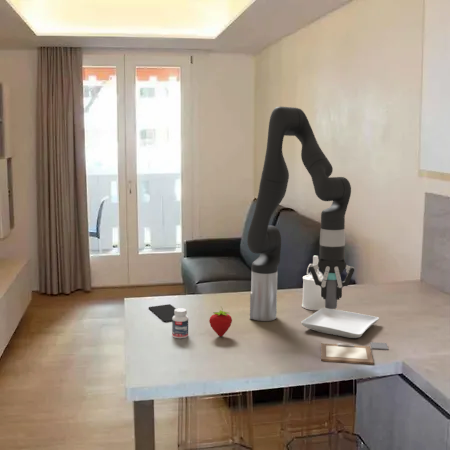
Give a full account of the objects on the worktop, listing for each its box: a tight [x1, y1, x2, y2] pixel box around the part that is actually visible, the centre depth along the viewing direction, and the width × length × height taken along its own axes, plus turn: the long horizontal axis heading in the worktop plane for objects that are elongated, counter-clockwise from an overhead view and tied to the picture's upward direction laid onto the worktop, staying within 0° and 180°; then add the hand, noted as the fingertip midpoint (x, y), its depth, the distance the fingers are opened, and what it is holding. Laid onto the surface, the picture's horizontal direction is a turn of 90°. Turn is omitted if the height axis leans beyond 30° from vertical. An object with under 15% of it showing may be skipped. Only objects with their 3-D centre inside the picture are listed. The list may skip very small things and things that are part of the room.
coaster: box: [370, 341, 389, 351], centre depth 188 cm, size 5×5×1 cm
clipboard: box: [320, 342, 374, 365], centre depth 182 cm, size 15×13×1 cm
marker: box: [325, 273, 338, 310], centre depth 183 cm, size 4×4×11 cm
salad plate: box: [300, 308, 380, 339], centre depth 205 cm, size 21×21×3 cm
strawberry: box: [208, 306, 233, 337], centre depth 195 cm, size 6×8×10 cm
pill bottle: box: [171, 307, 189, 339], centre depth 195 cm, size 5×5×9 cm
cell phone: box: [148, 304, 177, 323], centre depth 219 cm, size 9×18×1 cm, turn 25°
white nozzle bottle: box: [301, 255, 325, 311], centre depth 228 cm, size 10×9×20 cm
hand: (331, 298), depth 183 cm, fingers closed on marker, 3 cm apart
